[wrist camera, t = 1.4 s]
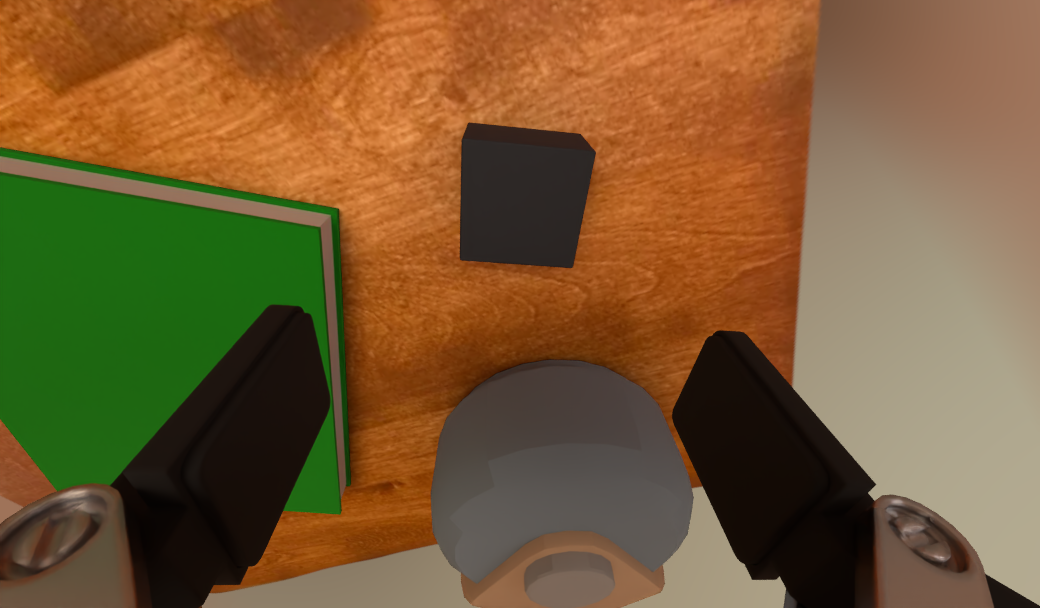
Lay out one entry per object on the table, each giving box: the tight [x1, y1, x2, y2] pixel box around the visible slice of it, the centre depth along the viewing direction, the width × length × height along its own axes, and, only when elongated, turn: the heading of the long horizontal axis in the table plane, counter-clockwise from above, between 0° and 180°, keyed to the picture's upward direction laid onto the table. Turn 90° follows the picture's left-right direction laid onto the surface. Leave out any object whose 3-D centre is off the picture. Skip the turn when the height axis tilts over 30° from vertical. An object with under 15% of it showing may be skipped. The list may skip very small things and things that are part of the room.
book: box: [0, 148, 351, 514], centre depth 27 cm, size 22×28×3 cm
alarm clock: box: [431, 360, 694, 608], centre depth 30 cm, size 19×20×12 cm
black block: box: [460, 123, 596, 268], centre depth 20 cm, size 6×6×4 cm
